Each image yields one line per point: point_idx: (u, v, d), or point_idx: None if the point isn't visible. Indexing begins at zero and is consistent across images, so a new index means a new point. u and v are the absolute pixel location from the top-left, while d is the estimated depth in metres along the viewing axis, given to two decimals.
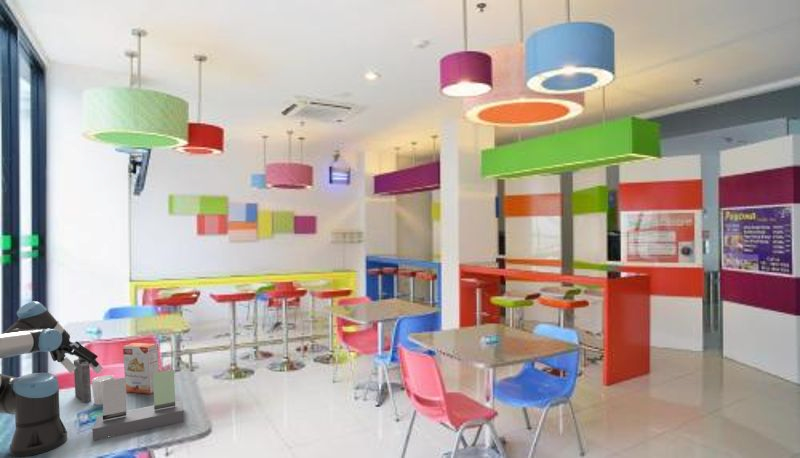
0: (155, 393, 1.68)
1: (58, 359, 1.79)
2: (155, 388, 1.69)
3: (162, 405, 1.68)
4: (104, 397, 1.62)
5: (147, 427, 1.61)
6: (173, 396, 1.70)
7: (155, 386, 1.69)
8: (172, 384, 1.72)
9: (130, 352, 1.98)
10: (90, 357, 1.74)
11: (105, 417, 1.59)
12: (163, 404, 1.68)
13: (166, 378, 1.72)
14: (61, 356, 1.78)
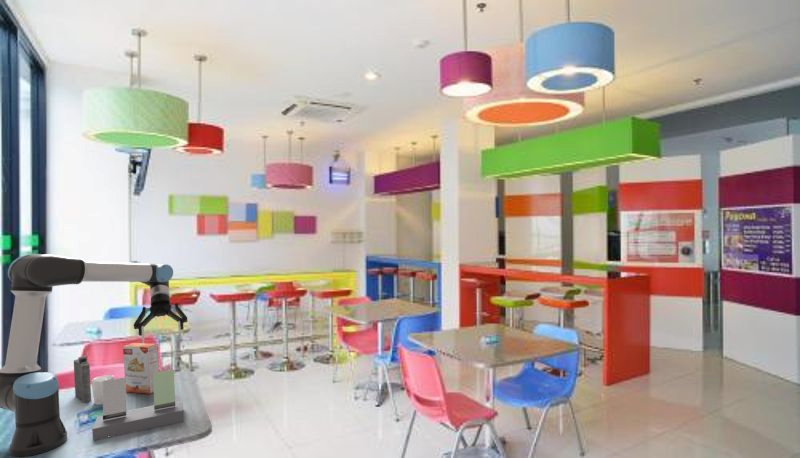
0: (155, 393, 1.68)
1: (142, 322, 1.88)
2: (155, 388, 1.69)
3: (162, 405, 1.68)
4: (104, 397, 1.62)
5: (147, 427, 1.61)
6: (173, 396, 1.70)
7: (155, 386, 1.69)
8: (172, 384, 1.72)
9: (130, 352, 1.98)
10: None
11: (105, 417, 1.59)
12: (163, 404, 1.68)
13: (166, 378, 1.72)
14: (147, 320, 1.90)
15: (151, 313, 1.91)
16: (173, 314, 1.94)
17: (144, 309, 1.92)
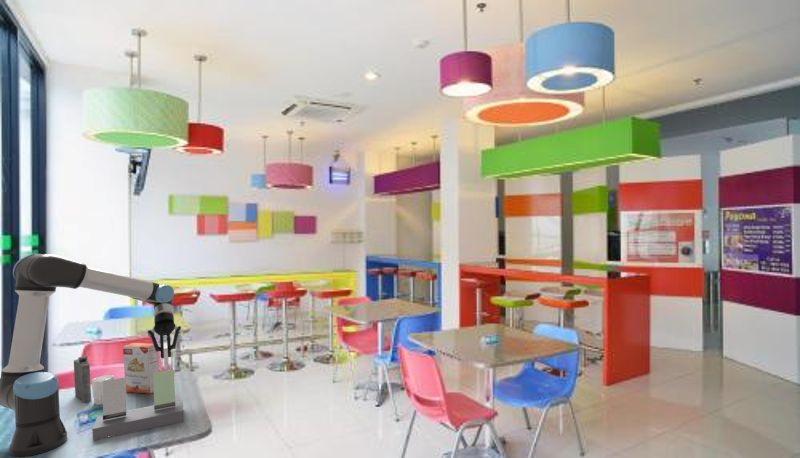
0: (155, 393, 1.68)
1: (161, 344, 1.87)
2: (155, 388, 1.69)
3: (162, 405, 1.68)
4: (104, 397, 1.62)
5: (147, 427, 1.61)
6: (173, 396, 1.70)
7: (155, 386, 1.69)
8: (172, 384, 1.72)
9: (130, 352, 1.98)
10: (176, 342, 1.90)
11: (105, 417, 1.59)
12: (163, 404, 1.68)
13: (166, 378, 1.72)
14: None
15: (161, 333, 1.90)
16: (168, 337, 1.90)
17: (151, 332, 1.89)
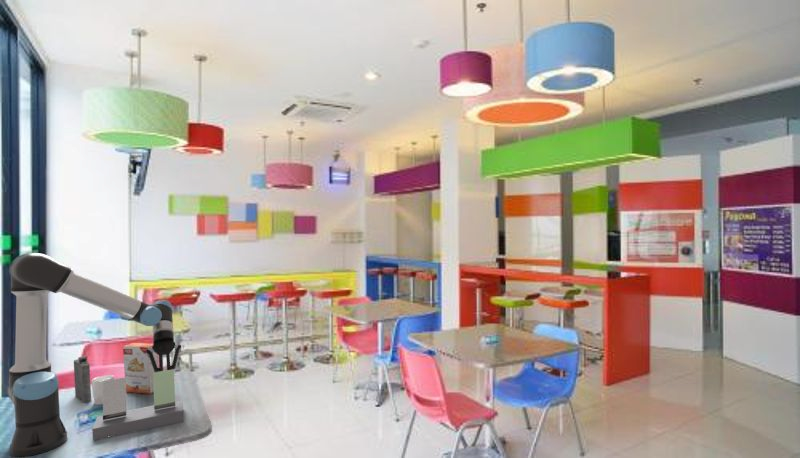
0: (155, 393, 1.68)
1: (160, 365, 1.76)
2: (155, 388, 1.68)
3: (162, 405, 1.68)
4: (104, 397, 1.62)
5: (147, 427, 1.61)
6: (173, 396, 1.70)
7: (155, 386, 1.69)
8: (172, 384, 1.71)
9: (130, 352, 1.98)
10: (176, 362, 1.80)
11: (105, 417, 1.59)
12: (163, 404, 1.68)
13: (166, 378, 1.71)
14: (162, 361, 1.78)
15: (160, 353, 1.79)
16: (167, 357, 1.79)
17: (149, 351, 1.79)
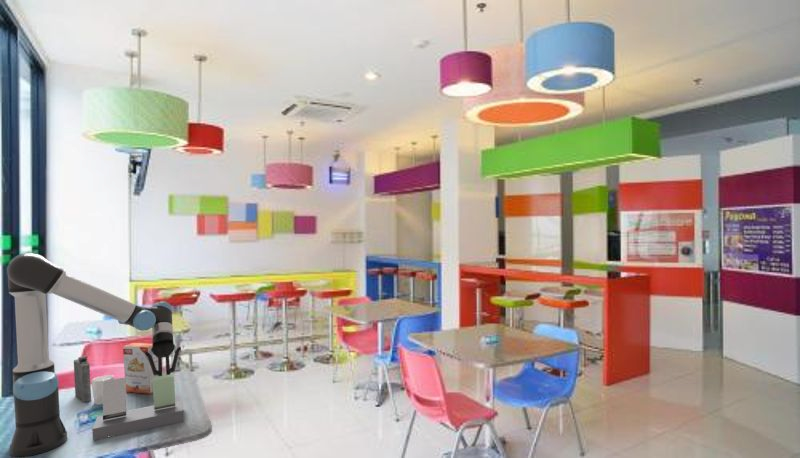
0: (155, 397, 1.65)
1: (159, 368, 1.72)
2: (155, 393, 1.65)
3: (162, 407, 1.68)
4: (104, 397, 1.62)
5: (147, 427, 1.61)
6: (173, 399, 1.69)
7: (155, 391, 1.65)
8: (172, 389, 1.67)
9: (130, 352, 1.98)
10: (175, 365, 1.75)
11: (105, 417, 1.59)
12: (163, 406, 1.68)
13: (166, 384, 1.66)
14: (161, 363, 1.74)
15: (159, 355, 1.75)
16: (167, 360, 1.75)
17: (148, 354, 1.75)
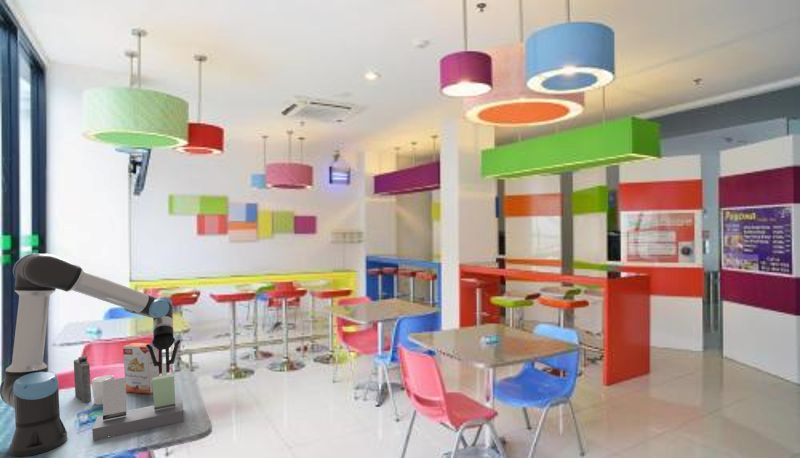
0: (155, 397, 1.65)
1: (159, 359, 1.81)
2: (155, 393, 1.65)
3: (162, 407, 1.68)
4: (104, 397, 1.62)
5: (147, 427, 1.61)
6: (173, 399, 1.69)
7: (155, 391, 1.65)
8: (172, 389, 1.67)
9: (130, 352, 1.98)
10: (174, 357, 1.84)
11: (105, 417, 1.59)
12: (163, 406, 1.68)
13: (166, 384, 1.66)
14: (161, 355, 1.83)
15: (160, 348, 1.84)
16: (167, 352, 1.84)
17: (149, 346, 1.84)
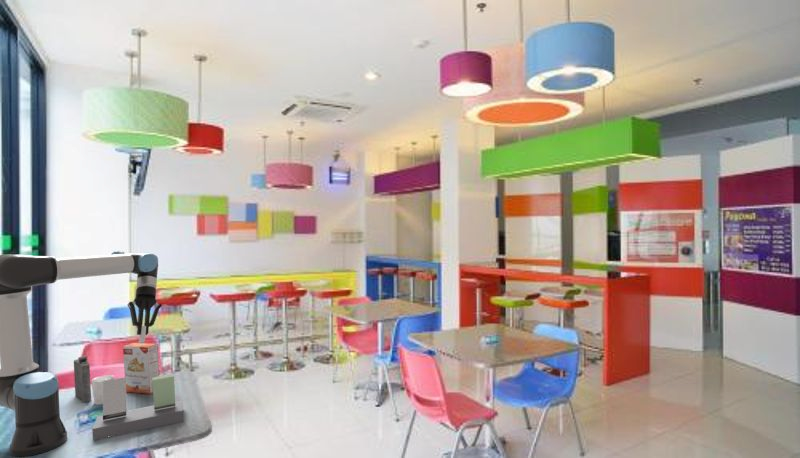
0: (155, 397, 1.65)
1: (140, 320, 1.85)
2: (155, 393, 1.65)
3: (162, 407, 1.68)
4: (104, 397, 1.62)
5: (147, 427, 1.61)
6: (173, 399, 1.69)
7: (155, 391, 1.65)
8: (172, 389, 1.67)
9: (130, 352, 1.98)
10: (154, 321, 1.89)
11: (105, 417, 1.59)
12: (163, 406, 1.68)
13: (166, 384, 1.66)
14: None
15: (142, 308, 1.87)
16: (148, 314, 1.88)
17: (132, 304, 1.86)
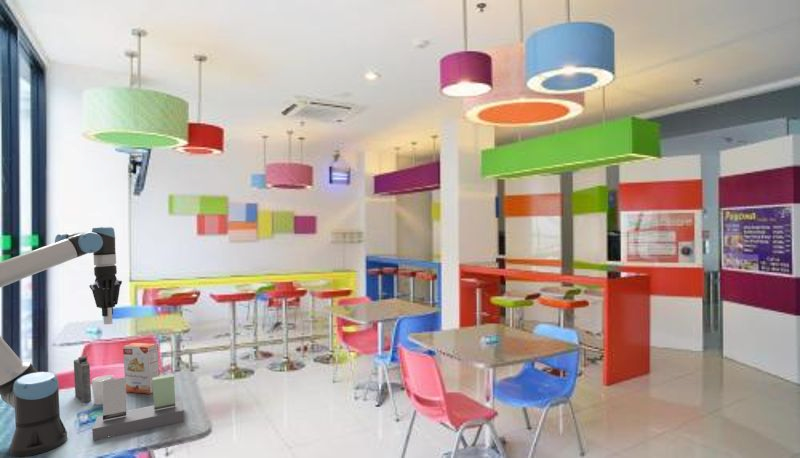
0: (155, 397, 1.65)
1: (106, 303, 1.79)
2: (155, 393, 1.65)
3: (162, 407, 1.68)
4: (104, 397, 1.62)
5: (147, 427, 1.61)
6: (173, 399, 1.69)
7: (155, 391, 1.65)
8: (172, 389, 1.67)
9: (130, 352, 1.98)
10: None
11: (105, 417, 1.59)
12: (163, 406, 1.68)
13: (166, 384, 1.66)
14: None
15: (106, 290, 1.79)
16: (111, 294, 1.81)
17: (97, 287, 1.75)
